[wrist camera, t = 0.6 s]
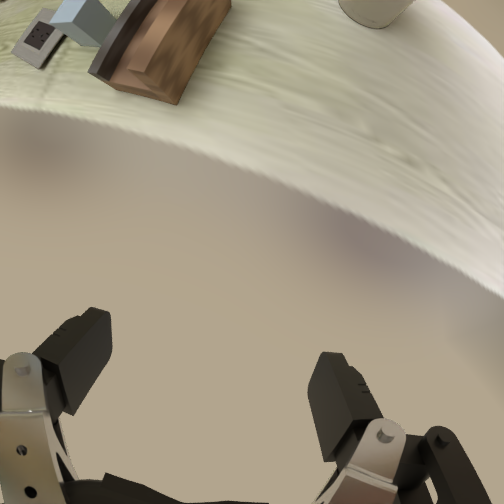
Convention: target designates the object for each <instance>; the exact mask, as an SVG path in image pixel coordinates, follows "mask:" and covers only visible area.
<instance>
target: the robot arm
mask: <svg viewBox="0 0 504 504" xmlns="http://www.w3.org/2000/svg"><path fill="white" fill-rule="evenodd" d="M414 1H415V0H339V4H340V6H341V8H342V9H343V10H344V12H345V13H346V14H347V15H348V16H349V17H351V18H352V19H353V20H355V21H356V22H358V23H360V24H362V25H364V26H367V27H370V28H384V27H386V26H388V25H389V24H390V23H391V22H392V21H393V20H394V19H395V18H396V17H397V16H399V15H400V14H401V13H402V12H403V11H404V10H405V9H406V8H407V7H408V6H409V5H411V4H412V3H413V2H414ZM111 353H112V332H111V315H110V313H109V312H108V311H104V310H101V309H98V308H94V307H90V308H89V309H88V310H87V311H85V313H83V314H82V315H81V316H75V317H73V318H70V319H68V320H66V321H65V322H64V323H63V324H62V325H61V326H60V327H59V329H57V330H56V331H54V332H53V334H52V335H50V336H49V337H48V338H47V339H46V340H45V341H44V342H43V343H42V344H41V345H40V346H39V347H38V348H37V349H36V350H35V351H34V352H33V353H32V354H31V353H26V352H20V353H15V354H13V355H11V356H10V357H8V358H7V359H6V361H5V360H1V359H0V484H1V490H2V494H3V499H4V503H2V504H269V503H254V502H253V503H252V502H238V501H219V502H205V503H183V502H180V501H177V500H175V499H173V498H170V497H168V496H165V495H164V494H161V493H159V492H157V491H155V490H153V489H151V488H149V487H147V486H145V485H143V484H139V483H136V482H132V481H129V480H126V479H123V478H119V477H117V476H114V475H111V474H109V473H105V475H104V478H103V480H91V479H86V480H79V478H78V476H77V474H76V471H75V469H74V467H73V465H72V462H71V459H70V456H69V452H68V449H67V446H66V442H65V438H64V434H63V430H62V426H61V421H60V418H59V416H60V415H61V413H62V411H63V412H66V413H68V414H70V415H72V416H74V414H75V413H76V411H77V409H78V408H79V406H80V405H81V403H82V401H83V400H84V398H85V396H86V395H87V393H88V392H89V390H90V388H91V387H92V385H93V384H94V382H95V381H96V379H97V377H98V376H99V374H100V373H101V371H102V370H103V368H104V367H105V365H106V364H107V362H108V361H109V359H110V356H111ZM308 399H309V403H310V407H311V411H312V415H313V419H314V423H315V427H316V431H317V435H318V439H319V443H320V447H321V451H322V456H323V460H324V462H334V461H336V464H337V467H336V469H335V470H334V471H333V473H332V474H331V476H330V477H329V479H328V481H327V482H326V484H325V485H324V487H323V488H322V489H321V491H320V492H319V494H318V496H317V497H316V498H315V499H314V501H313V502H312V504H433V502H432V499H431V496H430V493H429V491H428V488H427V486H426V483H425V481H426V480H427V479H428V478H429V477H431V480H432V482H433V485H434V487H435V489H436V492H437V495H438V500H437V503H436V504H492V503H491V501H490V499H489V497H488V495H487V493H486V490H485V488H484V487H483V484H482V483H481V480H480V479H479V477H478V475H477V473H476V471H475V469H474V467H473V465H472V464H471V462H470V460H469V458H468V456H467V455H466V453H465V451H464V449H463V447H462V446H461V444H460V442H459V440H458V439H457V437H456V435H455V434H454V433H453V432H452V431H451V430H449V429H448V428H446V427H442V426H434V427H431V428H430V429H429V430H428V431H427V433H426V434H425V435H424V436H417V435H408V434H405V431H404V429H403V428H402V427H401V426H400V425H399V424H398V423H396V422H394V421H392V420H390V419H385V418H384V417H383V415H382V413H381V411H380V409H379V408H378V405H377V403H376V401H375V400H374V398H373V396H372V394H371V393H370V390H369V388H368V386H366V382H365V380H364V378H363V377H362V375H361V374H360V373H359V372H358V371H357V370H356V369H355V368H354V367H353V366H349V365H348V363H347V361H346V359H345V357H344V355H343V354H342V353H333V352H322V353H321V355H320V357H319V359H318V362H317V364H316V367H315V369H314V372H313V374H312V377H311V379H310V382H309V385H308Z"/></svg>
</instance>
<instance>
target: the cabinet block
mask: <svg viewBox="0 0 504 504" xmlns="http://www.w3.org/2000/svg"><path fill="white" fill-rule="evenodd" d="M116 21H117V20H116V19H115V18H114V17H113V16H112V15H111V14H110V12H109V11H108V10H107V9H106V8H105V7H104V6H103V5H102V4H101V3H100V2H99V0H64V1H63V3H62V4H61V5H60V7H59V8H58V10H57V11H56V13H55V14H54V16H53V17H52V19H51V21H50V22H49V24H51V25H52V26H54V27H55V28H57V29H58V30H59V31H61V32H62V33H64V34H65V35H67V36H68V37H70V38H71V39H73V40H74V41H75V42H77V43H78V44H80V45H81V46H93V47H101V46H102V44H103V42H104V40H105V39H106V37H107V35H108V34H109V32H110V30H111V29H112V27H113V26H114V24H115V22H116Z"/></svg>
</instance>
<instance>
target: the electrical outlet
mask: <svg viewBox="0 0 504 504" xmlns="http://www.w3.org/2000/svg"><path fill="white" fill-rule="evenodd" d="M55 13H56V11H53V10H49V9H46V8H42V9H41V11H40V12H39V13H38V14H37V16H36V17H35V18H34V19H33V21H32V22H31V23H30V25H29V26H28V27H27V29H26V30H25V32H24V33H23V34H22V36H21V37H20V39H19V40H18V42H17V43H16V45H15V46H14V48H13V49H12V51H11V53H12V54H14V55H16V56H18V57H19V58H21V59H23V60H24V61H26V62H28V63H29V64H31V65H33V66H34V67H36V68H38V69H40V68H41V66H42V65H43V63H44V62H45V60H46V59H47V57H48V56H49V54H50V53H51V52H52V50H53V49H54V47H55V46H56V45H57V43H58V42H59V41H60V39H61V38H62V37H63V35H64V33H62V32H61V31H59V30H58V29H57V28H55V27H54V26H52V25H51V24H49V22H50V21H51V19H52V17H53V16H54V14H55Z"/></svg>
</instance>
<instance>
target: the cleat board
mask: <svg viewBox="0 0 504 504" xmlns="http://www.w3.org/2000/svg"><path fill="white" fill-rule="evenodd" d="M230 8H231V0H131V1H130V2H129V3H128V5H127V6H126V8H125V9H124V10H123V12H122V13H121V15H120V16H119V18H118V19H117V21H116V22H115V24H114V26H113V27H112V29H111V30H110V32H109V34H108V35H107V37H106V39H105V40H104V42H103V44H102V46H101V47H100V49H99V51H98V53H97V55H96V56H95V58H94V60H93V62H92V64H91V66H90V68H89V70H88V73H90V74H91V75H93V76H95V77H96V78H98V79H100V80H101V81H103V82H104V83H106V84H108V85H109V86H111V87H112V88H114V89H116V90H119V91H124V92H128V93H132V94H136V95H141V96H144V97H148V98H152V99H156V100H159V101H163V102H167V103H170V104H174V105H177V104H178V102H179V100H180V97H181V95H182V93H183V91H184V89H185V87H186V85H187V83H188V81H189V79H190V77H191V75H192V73H193V71H194V69H195V68H196V66H197V64H198V62H199V60H200V58H201V56H202V55H203V53H204V51H205V49H206V47H207V46H208V44H209V42H210V40H211V39H212V37H213V35H214V34H215V32H216V30H217V29H218V27H219V25H220V24H221V22H222V21H223V19H224V18H225V16H226V14H227V13H228V11H229V10H230Z"/></svg>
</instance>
